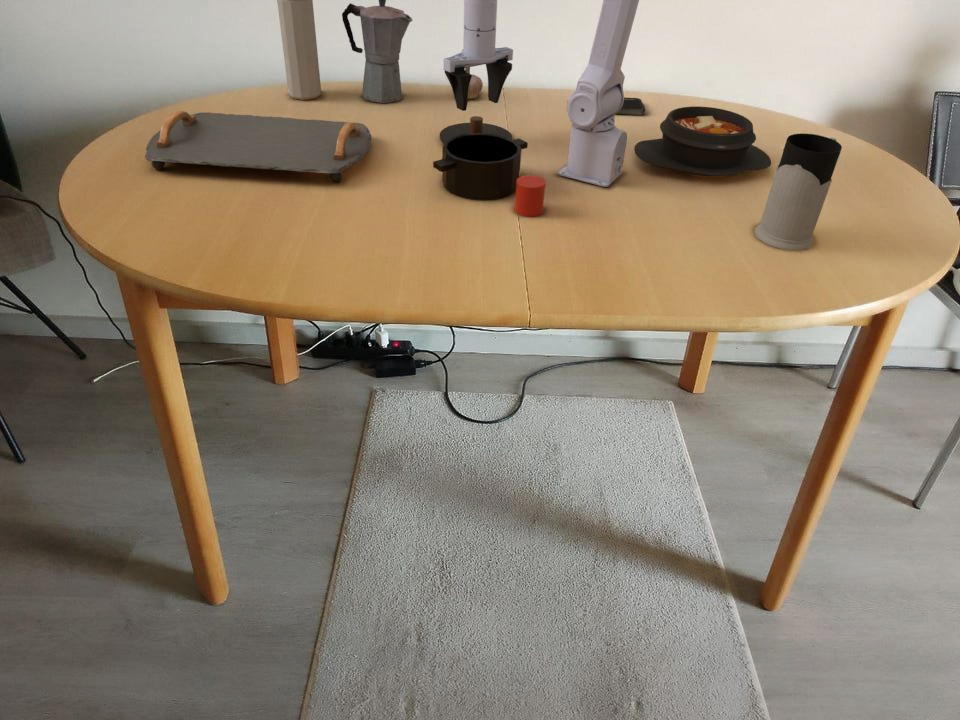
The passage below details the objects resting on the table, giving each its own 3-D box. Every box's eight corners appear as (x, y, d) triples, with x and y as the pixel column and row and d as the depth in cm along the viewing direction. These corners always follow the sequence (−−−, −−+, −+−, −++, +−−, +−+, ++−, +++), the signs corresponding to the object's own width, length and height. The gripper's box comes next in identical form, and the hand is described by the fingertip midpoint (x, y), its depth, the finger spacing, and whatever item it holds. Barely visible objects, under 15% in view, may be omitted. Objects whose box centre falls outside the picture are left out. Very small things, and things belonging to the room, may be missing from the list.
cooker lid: (526, 144, 139) (528, 122, 137) (469, 160, 132) (470, 137, 130) (481, 123, 148) (482, 101, 145) (425, 137, 141) (424, 114, 138)
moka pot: (408, 107, 153) (405, 4, 141) (339, 100, 156) (330, -2, 143) (420, 93, 161) (418, -6, 149) (353, 87, 163) (347, -12, 151)
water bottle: (320, 102, 154) (307, -30, 139) (283, 100, 154) (266, -32, 139) (328, 88, 162) (316, -38, 146) (292, 86, 161) (277, -40, 146)
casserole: (643, 184, 127) (652, 137, 122) (623, 143, 142) (630, 100, 136) (783, 187, 128) (798, 140, 123) (749, 146, 143) (761, 104, 138)
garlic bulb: (470, 88, 165) (471, 51, 160) (491, 97, 161) (492, 59, 156) (443, 94, 161) (444, 56, 156) (464, 103, 157) (465, 65, 152)
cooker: (545, 184, 125) (549, 148, 121) (461, 211, 116) (462, 173, 112) (497, 159, 133) (499, 125, 129) (415, 183, 124) (414, 146, 120)
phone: (572, 95, 160) (640, 98, 160) (572, 100, 161) (639, 103, 161) (575, 107, 154) (646, 110, 154) (574, 112, 154) (645, 115, 155)
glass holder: (744, 235, 113) (772, 142, 104) (783, 208, 121) (812, 118, 112) (799, 256, 108) (832, 159, 99) (835, 225, 117) (869, 134, 108)
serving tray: (130, 172, 123) (120, 137, 119) (186, 124, 141) (179, 92, 137) (355, 189, 121) (353, 153, 117) (382, 138, 139) (381, 106, 135)
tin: (547, 208, 118) (550, 179, 115) (535, 219, 115) (537, 189, 112) (522, 201, 120) (524, 172, 117) (509, 212, 116) (511, 182, 113)
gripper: (497, 17, 134) (493, 92, 142) (433, 27, 126) (433, 106, 134) (522, 25, 129) (517, 102, 138) (457, 36, 122) (456, 117, 130)
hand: (477, 105), depth 136 cm, fingers open, 7 cm apart
